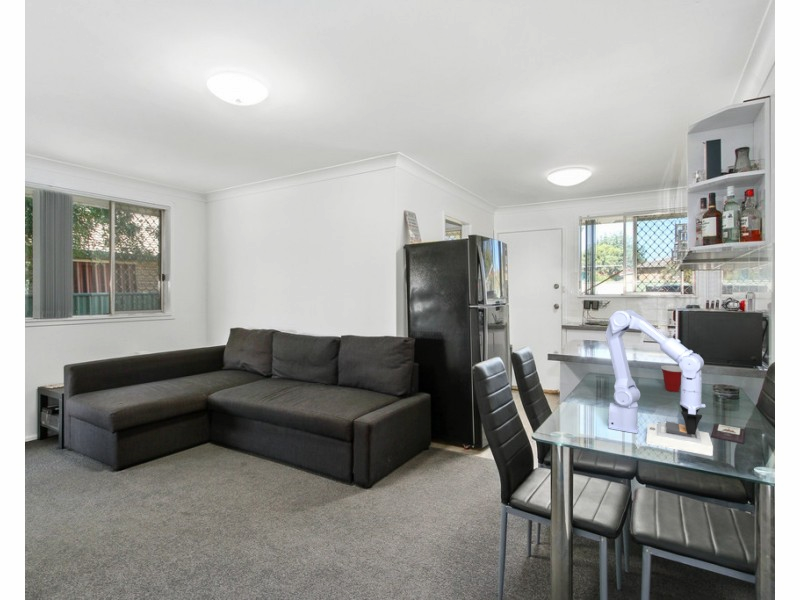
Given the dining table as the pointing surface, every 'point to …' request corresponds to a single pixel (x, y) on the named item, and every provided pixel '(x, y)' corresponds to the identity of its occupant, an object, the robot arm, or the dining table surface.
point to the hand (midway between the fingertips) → (690, 430)
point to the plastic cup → (672, 377)
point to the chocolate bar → (728, 433)
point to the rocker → (677, 429)
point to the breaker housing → (679, 440)
